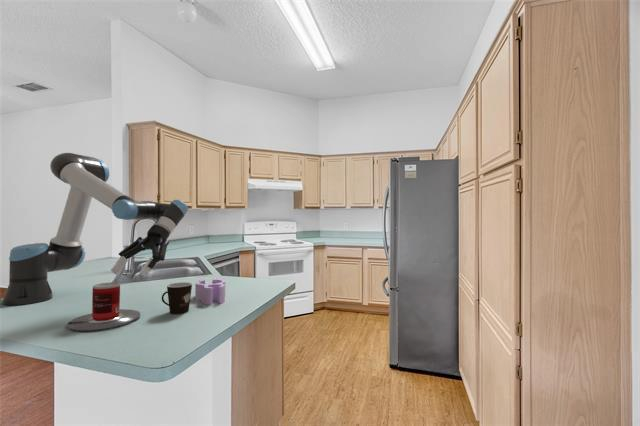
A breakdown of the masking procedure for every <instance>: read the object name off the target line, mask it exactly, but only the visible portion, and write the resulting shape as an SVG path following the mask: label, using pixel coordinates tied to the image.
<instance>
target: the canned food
mask: <svg viewBox="0 0 640 426" xmlns="http://www.w3.org/2000/svg"><path fill="white" fill-rule="evenodd" d="M120 300H121V284H120V282H110V281H109V282H101V283H97V284H94V285H93V286H92V302H91V305H92V306H91V307H92V308H91V310H92V312H91V313H92V318H93V320H96V321H104V320H110V319H114V318H116V317H118V316H119V313H120V309H121V308H120V306H121V301H120Z"/></svg>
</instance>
